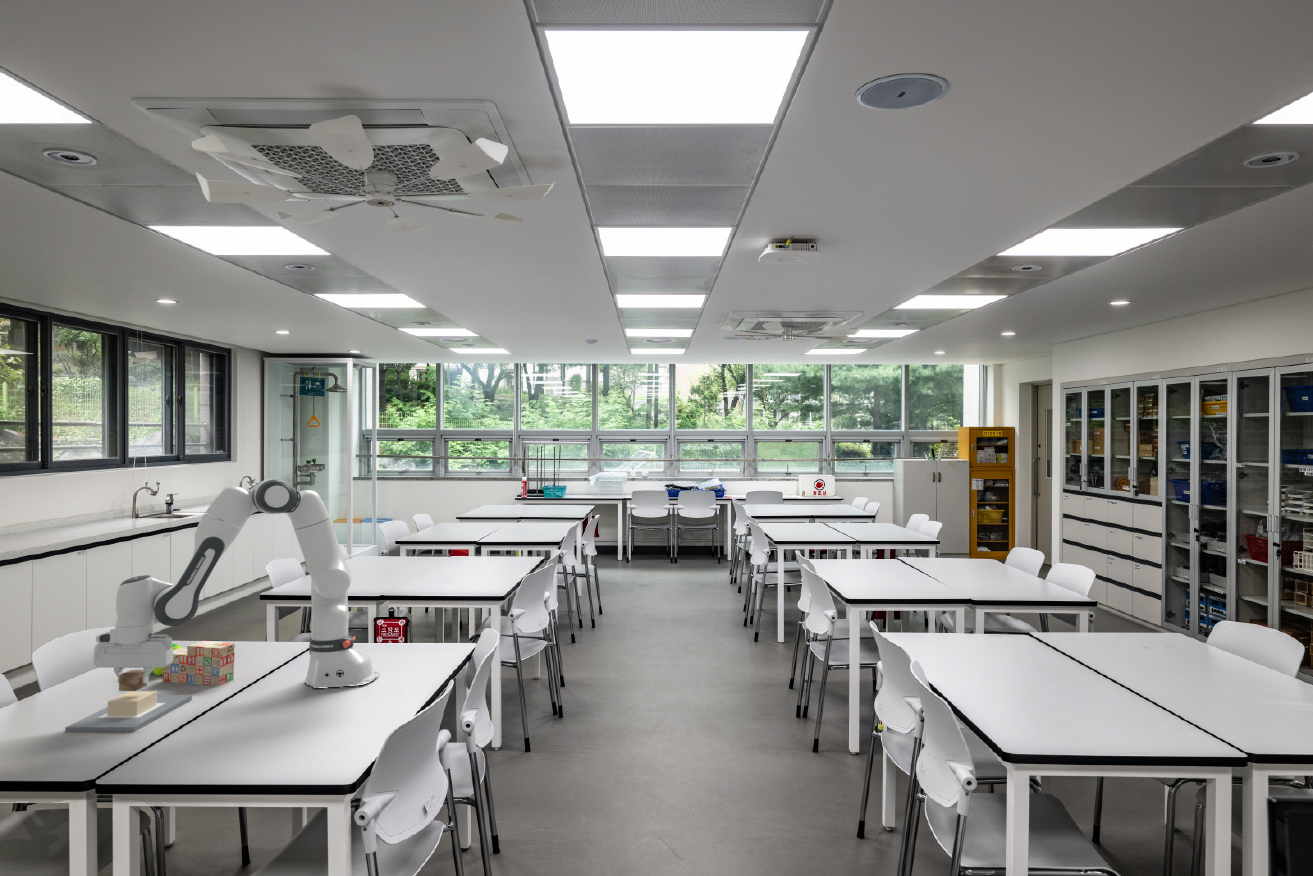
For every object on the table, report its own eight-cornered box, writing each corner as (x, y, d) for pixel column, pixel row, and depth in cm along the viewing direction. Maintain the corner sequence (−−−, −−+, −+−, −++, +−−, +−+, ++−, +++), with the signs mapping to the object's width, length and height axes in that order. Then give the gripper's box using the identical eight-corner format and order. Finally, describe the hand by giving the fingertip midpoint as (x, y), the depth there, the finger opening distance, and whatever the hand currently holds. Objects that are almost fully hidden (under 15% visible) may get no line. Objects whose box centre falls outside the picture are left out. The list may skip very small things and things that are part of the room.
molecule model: (185, 672, 233) (176, 666, 239) (186, 646, 233) (177, 641, 239) (155, 678, 226) (146, 673, 232) (155, 651, 226) (147, 646, 232)
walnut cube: (146, 685, 197) (147, 670, 197) (135, 691, 193) (135, 675, 193) (130, 685, 197) (131, 670, 197) (118, 691, 193) (119, 675, 193)
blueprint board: (191, 699, 207) (192, 682, 207) (134, 731, 183) (134, 712, 183) (131, 699, 207) (131, 682, 207) (65, 732, 183) (65, 712, 183)
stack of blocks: (161, 682, 223) (162, 644, 223) (178, 675, 229) (179, 638, 230) (219, 686, 220) (220, 647, 220) (234, 680, 226) (235, 642, 226)
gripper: (179, 631, 199) (177, 679, 199) (107, 630, 198) (105, 679, 198) (164, 636, 193) (162, 686, 192) (89, 636, 192) (88, 686, 192)
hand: (133, 682), depth 195 cm, fingers closed on walnut cube, 4 cm apart
